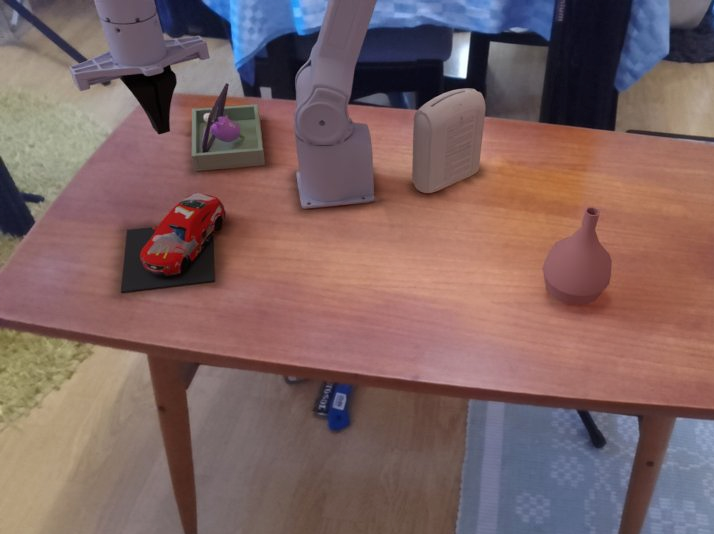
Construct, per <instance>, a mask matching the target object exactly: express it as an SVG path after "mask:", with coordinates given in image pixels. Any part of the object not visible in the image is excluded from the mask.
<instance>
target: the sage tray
mask: <svg viewBox="0 0 714 534" xmlns="http://www.w3.org/2000/svg"><path fill="white" fill-rule="evenodd" d="M212 108H213V106H212V107H199V108H192V109H191V160H192V163H193V167H194V171H195V172H202V171H203V172H204V171H215V170H224V169H226V170H227V169H237V168H247V167H248V168H249V167H259V166H266V160H265V148H264V142H263V134H262V133H263V132H262V123H261V116H260V109H259V104H257V103H256V104H255V103H254V104H242V105H240V104H239V105H228V106H226V105H225V108H224V113H223V117H225V116H226V115H227V117H228V119H229V120H231V121H232V122H234V123H236V122H238V124H237V125H238V127H239V128H240V133H241V134H242V135H243V136H245V139H244V140H243V138H240V137H238V138H237V139H236V140H235V141H232V142H224V141H221V140H219V139H218V138H216V137H215V138H214V140H213V142H212V144H211V146H210V148H209V150H208V152H206V153H202V152H203V149H202V143H203V140H202V139H204V138H203V133H204V127H205V131H206V128H207V122H205V121H204V115H205V114H206V113H210V112H211V109H212ZM217 109H218V107H217ZM217 109H216V111H215V113H214V115H213V117H212V120H211V122H212V121H213V120H214V119H216V115H217ZM210 127H211V126H210ZM210 130H211V129H210ZM204 134H205V133H204ZM211 136H212V134H210V132H209V138H208V142H209V140H210V138H211ZM207 144H208V143H207Z"/></svg>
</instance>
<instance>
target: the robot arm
mask: <svg viewBox="0 0 714 534" xmlns="http://www.w3.org/2000/svg"><path fill="white" fill-rule="evenodd" d="M93 1H94V5H95V8H96V12H97V15H98V17H99V21H100V24H101V27H102V30H103V33H104V37H105V39H106V43H107V46H108V49H109V51H106V52H103V53H101V54H99V55H97V56H94V57H92V58H90V59H88V60H86V61H83V62H81V63H76V64H74V65H69V66H68V70H69V72H70V76H71V79H72V81H73V83H74V85H75V86H76V88H77V89H78V90H79V91H80V92H84V91H87V90H88V91H89V90H90V89H91V86H94V85H99V84H102V83H107V82H111V81H115V80H120V81H121V82H122V83H123V84H124V85H125V87H126V88H127V89H128V90H129V91H130V92H131V94H132V95H133V97H134V98H135V99H136V100H137V103H139V105H140V106H141V108H142V109H143V111H144V113H145V114H146V116H147V118H148V120H149V122H150V124H151V127H152V129H153V130H154V131H155V132H156V133H157V135H163V134H167V133H170V132H171V122H170V121H171V120H170V119H171V117H170V116H171V105H172V101H173V96H174V92H175V89H176V87H177V84H178V81H177V80H178V79H177V74H176V73H175V72H174V71H173V70H172V67H171V66H173V65H177V64H181V63H185V62H190V61H193V60H197V59H199V60H201V61H205V60H209V59H210V52H209V48H208V47H209V46H208V43H207V41H206V40H205V39H204V38H203V37H201V36H200V35H195V36H190V37H189V36H188V37H180V38H169V39H165V36H164V33H163V28H162V24H161V21H160V17H159V14H158V9H157V6H156V2H155V0H93ZM377 1H378V0H328V1H327V4H326V8H325V12H324V16H323V19H322V23H321V26H320V29H319V33H318V36H317V41H316V42H315V44H314V45H313V46H312V47H311V51H310V54H309V57H308V59H307V61H306V62H305V63H304V64H303V65H302V66H301V67H300V68H299V70H298V71H297V73H296V75H295V80H294V85H295V86H294V87H295V111H294V114H293V115H294V116H293V122H294V123H293V129H294V138H295V146H296V147H295V148H296V154H297V163H298V169H299V170H298V171H296V172H295V175H296V181H297V188H298V194H299V200H300V206H301V208H302V209H303V210H307V209H316V208H317V209H318V208H325V207H326V208H327V207H337V206H344V205H345V206H347V205H356V204H366V203H373V202H375V201H376V200H375V199H376V197H375V188H374V186H375V185H374V175H375V173H374V156H373V155H374V154H373V145H372V144H373V143H372V139H371V132H370V129H369V125H368V123H363V122H362V123H360V122H354V121H353V119H352V118H351V117H350V113H349V109H348V108H349V107H348V106H349V103H350V99H351V96H352V90H353V85H354V78H355V77H354V75H355V69H356V65H357V63H358V59H359V56H360V54H361V50H362V47H363V44H364V41H365V38H366V35H367V32H368V29H369V26H370V23H371V20H372V17H373V15H374V11H375V8H376V4H377Z"/></svg>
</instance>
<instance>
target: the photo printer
mask: <svg viewBox="0 0 714 534" xmlns="http://www.w3.org/2000/svg"><path fill="white" fill-rule="evenodd" d="M483 95H484V94H483V93H482V92H481V91H477V90H476V89H475V88H468V87H467V88H466V87H465V88H457V89H453V90H450V91H447V92H444V93H441V94H439V95H438V96H435V97H433V98H432V99H430V100H429V101H427V102H425V103H424V104H422V105H421V106H420V107H419V108H418V109H417V110H416V112H415V113H414V116H413V130H412V131H413V132H412V133H413V134H412V136H413V137H412V162H411V163H412V167H411V169H412V171H411V179H412V183H413V186H414V188H415V189H416V190H417V191H419V192H421V193H423V194H432V193H435V192H438V191H440V190H443V189H445V188H447V187H449V186H451V185H454V184H456V183H458V182H461V181H463V180H465V179H467V178H469V177H471V176H473V175H475V174H477V173H478V171H479V169H480V163H481V154H482V145H483V136H484V135H483V134H484V127H485V116H486V108H487V107H486V100H485V98H484V96H483Z"/></svg>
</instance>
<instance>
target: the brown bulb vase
mask: <svg viewBox="0 0 714 534" xmlns="http://www.w3.org/2000/svg"><path fill="white" fill-rule="evenodd" d="M583 214H584V215H583V218H582V222H581V226H580V227H579V228H578V229H577V230H576V231H575V232H574V233H572V235H570V236H567V237H564V238H562V239H559V240H558V241H556V242H555V243H554V244H553V245H552V246H551V247H550V249H549V251H548V253H547V255H546V256H545V259H544V262H543V266H542V274H543V279H544V285H545V290H546V291H547V292H548V294H549V295H550V296H551V297H552V298H553V299H554V300H556V301H557V302H559V303H562V304H565V305H567V306H574V307H582V306H589V305H591V304H592V303H594V302H596V301H597V300H598V299H599V297H600V296H601V295H602V294H603V292H604V291H605V290H606V289H607V288H608V286H609V285H610V282H611V277H612V265H613V264H612V263H613V260H612V258H611V255H610V252H608V250H607V249H606V248H605V247H604V246H603V244H602V243H601V242H600V240H599V237H598V235H597V234H598V233H597V232H596V228H597V224H598V222H599V217H600V215H601V211H600V210H599V208H597V207H594V206H588V207H586V208H585V210H584V213H583Z"/></svg>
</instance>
